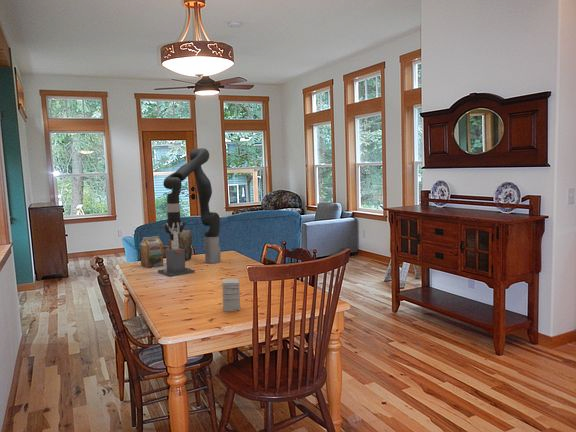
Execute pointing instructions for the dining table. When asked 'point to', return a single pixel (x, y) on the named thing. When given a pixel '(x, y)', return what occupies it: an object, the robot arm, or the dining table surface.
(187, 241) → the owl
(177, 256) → the stand housing
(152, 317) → the dining table surface
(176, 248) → the column
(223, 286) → the supplement box
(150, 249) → the milk carton
